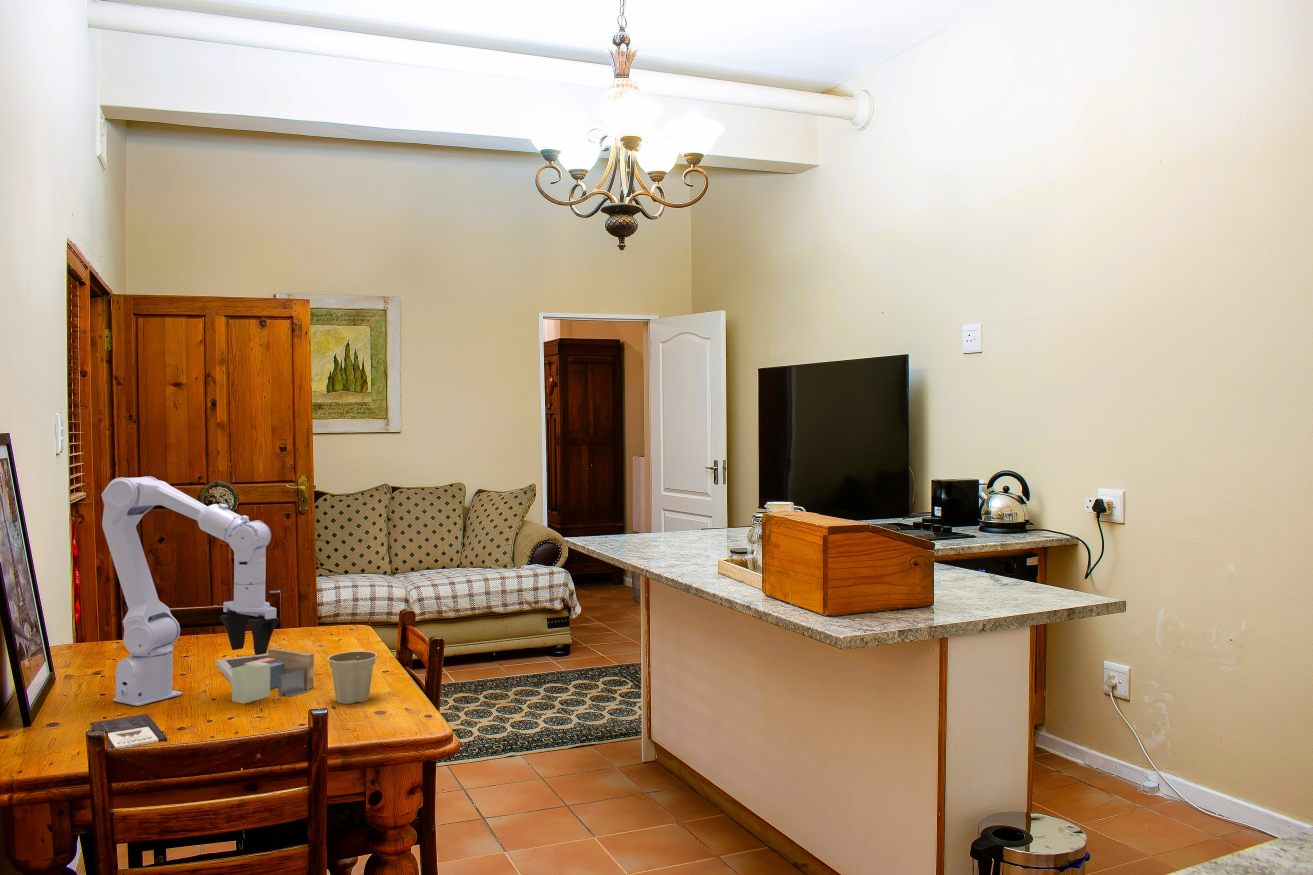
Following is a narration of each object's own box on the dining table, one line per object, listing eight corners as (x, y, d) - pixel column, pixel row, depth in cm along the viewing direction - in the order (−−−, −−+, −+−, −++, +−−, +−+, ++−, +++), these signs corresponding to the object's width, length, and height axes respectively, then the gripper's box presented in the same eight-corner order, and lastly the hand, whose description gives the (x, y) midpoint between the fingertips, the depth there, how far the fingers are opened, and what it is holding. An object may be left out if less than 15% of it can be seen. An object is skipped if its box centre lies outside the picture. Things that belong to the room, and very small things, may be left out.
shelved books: (259, 691, 185) (259, 666, 185) (243, 688, 188) (243, 663, 188) (284, 684, 191) (284, 660, 191) (267, 681, 193) (268, 657, 193)
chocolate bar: (146, 713, 168) (167, 737, 154) (146, 718, 168) (167, 743, 154) (90, 722, 162) (105, 748, 148) (89, 727, 162) (105, 754, 148)
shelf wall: (307, 689, 187) (307, 655, 187) (267, 681, 193) (268, 648, 193) (313, 687, 189) (313, 653, 189) (273, 680, 194) (274, 647, 194)
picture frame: (310, 678, 199) (288, 660, 216) (311, 665, 199) (288, 648, 216) (232, 688, 190) (216, 668, 207) (232, 675, 190) (216, 656, 207)
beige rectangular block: (243, 703, 177) (244, 670, 177) (231, 701, 178) (232, 668, 178) (269, 696, 182) (270, 663, 182) (258, 694, 184) (258, 661, 184)
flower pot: (323, 707, 174) (323, 662, 174) (330, 694, 183) (331, 651, 183) (374, 705, 176) (374, 660, 176) (379, 692, 185) (379, 650, 185)
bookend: (288, 697, 181) (288, 676, 181) (278, 695, 183) (278, 675, 183) (312, 690, 187) (312, 670, 187) (302, 688, 188) (302, 668, 188)
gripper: (290, 583, 180) (289, 652, 179) (246, 577, 187) (245, 643, 187) (258, 587, 174) (257, 659, 173) (213, 581, 181) (213, 649, 181)
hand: (248, 651), depth 180 cm, fingers open, 7 cm apart
